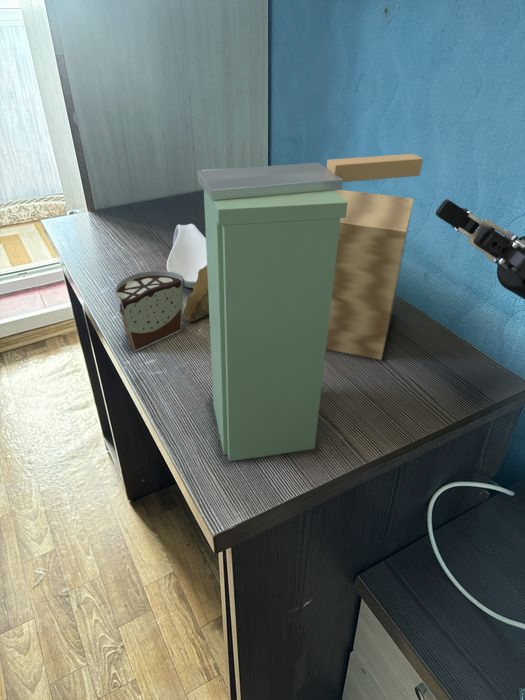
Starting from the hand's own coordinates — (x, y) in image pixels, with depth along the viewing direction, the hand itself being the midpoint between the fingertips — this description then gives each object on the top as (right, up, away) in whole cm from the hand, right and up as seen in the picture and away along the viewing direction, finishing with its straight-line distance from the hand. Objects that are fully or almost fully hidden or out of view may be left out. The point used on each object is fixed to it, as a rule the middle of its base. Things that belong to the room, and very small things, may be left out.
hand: (459, 220), depth 58 cm
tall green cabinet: (-22, -24, +11) cm, 35 cm away
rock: (-32, -7, +35) cm, 49 cm away
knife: (-17, +2, -6) cm, 18 cm away
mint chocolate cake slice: (-41, -12, +29) cm, 52 cm away
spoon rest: (-37, +2, +48) cm, 61 cm away
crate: (-9, -11, +31) cm, 34 cm away
